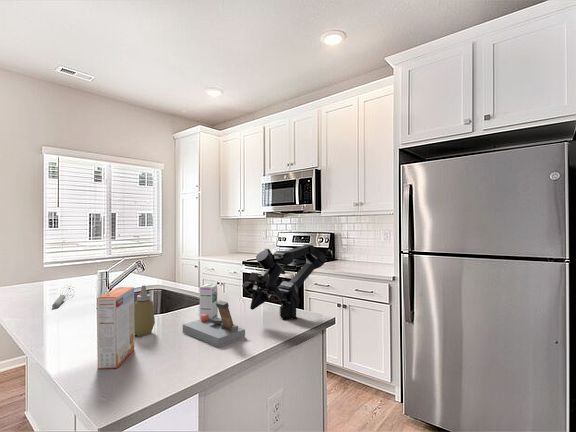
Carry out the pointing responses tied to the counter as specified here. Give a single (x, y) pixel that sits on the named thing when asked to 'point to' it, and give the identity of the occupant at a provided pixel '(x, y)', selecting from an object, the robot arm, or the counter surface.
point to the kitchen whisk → (61, 299)
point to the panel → (213, 332)
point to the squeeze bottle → (143, 314)
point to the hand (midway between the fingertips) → (251, 309)
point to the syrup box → (208, 300)
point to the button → (204, 317)
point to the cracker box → (115, 327)
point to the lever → (225, 314)
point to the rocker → (215, 321)
